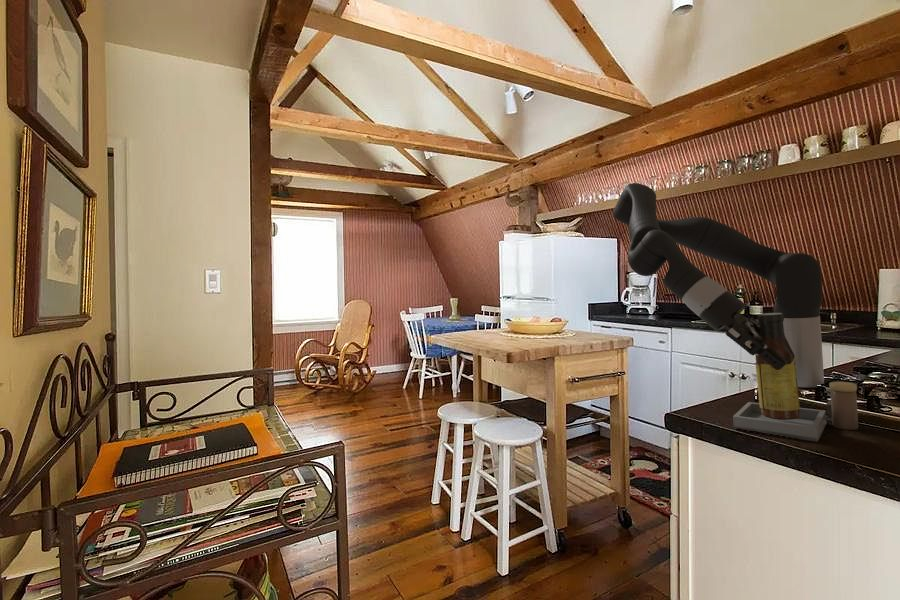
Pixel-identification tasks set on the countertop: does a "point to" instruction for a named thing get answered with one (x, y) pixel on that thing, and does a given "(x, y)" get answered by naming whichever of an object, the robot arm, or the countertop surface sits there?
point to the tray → (782, 422)
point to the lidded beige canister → (844, 405)
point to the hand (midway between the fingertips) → (786, 363)
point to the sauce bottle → (777, 372)
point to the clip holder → (829, 410)
